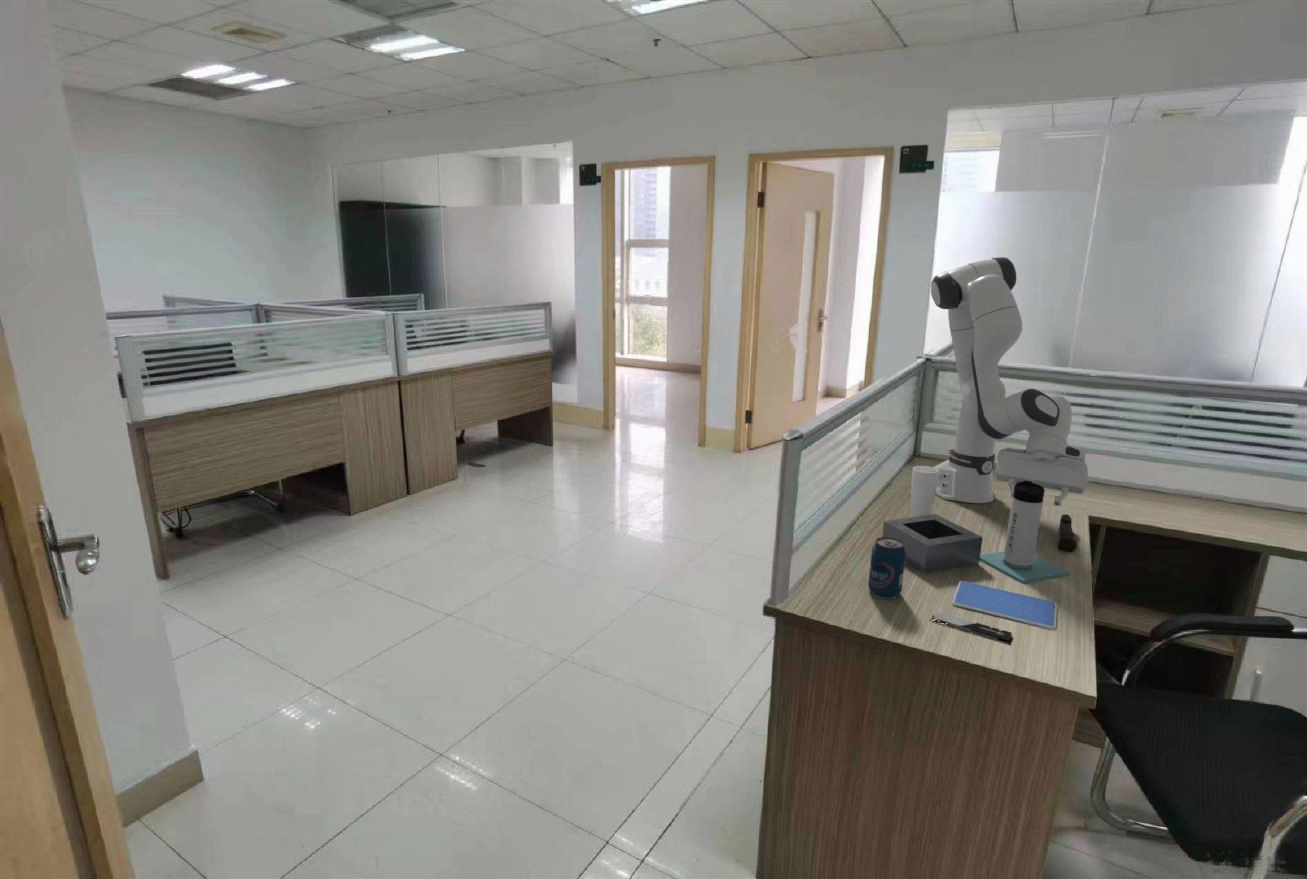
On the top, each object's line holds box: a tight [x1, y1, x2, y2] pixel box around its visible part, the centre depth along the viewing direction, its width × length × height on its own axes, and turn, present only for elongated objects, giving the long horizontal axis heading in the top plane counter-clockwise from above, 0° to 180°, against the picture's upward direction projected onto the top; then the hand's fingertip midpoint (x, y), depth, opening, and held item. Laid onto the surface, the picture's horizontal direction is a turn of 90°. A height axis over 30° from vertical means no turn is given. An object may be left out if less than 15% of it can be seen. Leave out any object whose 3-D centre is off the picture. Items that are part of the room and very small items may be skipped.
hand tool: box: [1057, 513, 1078, 553], centre depth 179 cm, size 19×4×5 cm, turn 149°
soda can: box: [868, 537, 906, 599], centre depth 148 cm, size 7×7×12 cm
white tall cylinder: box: [909, 465, 939, 518], centre depth 190 cm, size 7×7×15 cm
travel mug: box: [1003, 481, 1046, 570], centre depth 160 cm, size 6×7×20 cm
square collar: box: [881, 513, 983, 574], centre depth 168 cm, size 16×16×7 cm
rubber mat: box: [979, 550, 1070, 584], centre depth 163 cm, size 14×14×1 cm
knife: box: [929, 611, 1014, 646], centre depth 136 cm, size 15×1×4 cm
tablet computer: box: [951, 580, 1058, 631], centre depth 145 cm, size 19×13×1 cm, turn 59°
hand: (1035, 500), depth 168 cm, fingers open, 8 cm apart
